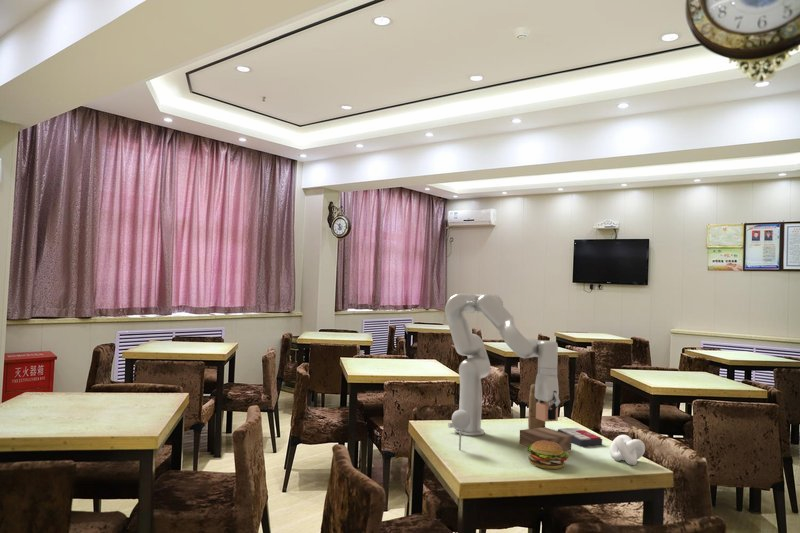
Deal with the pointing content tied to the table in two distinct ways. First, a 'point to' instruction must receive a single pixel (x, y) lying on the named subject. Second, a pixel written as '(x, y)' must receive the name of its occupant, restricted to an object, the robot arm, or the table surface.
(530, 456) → the food
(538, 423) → the brown rock
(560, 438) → the walnut block
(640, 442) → the white knot
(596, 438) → the calculator
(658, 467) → the table surface
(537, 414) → the terracotta cube
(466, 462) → the table surface
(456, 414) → the lollipop
